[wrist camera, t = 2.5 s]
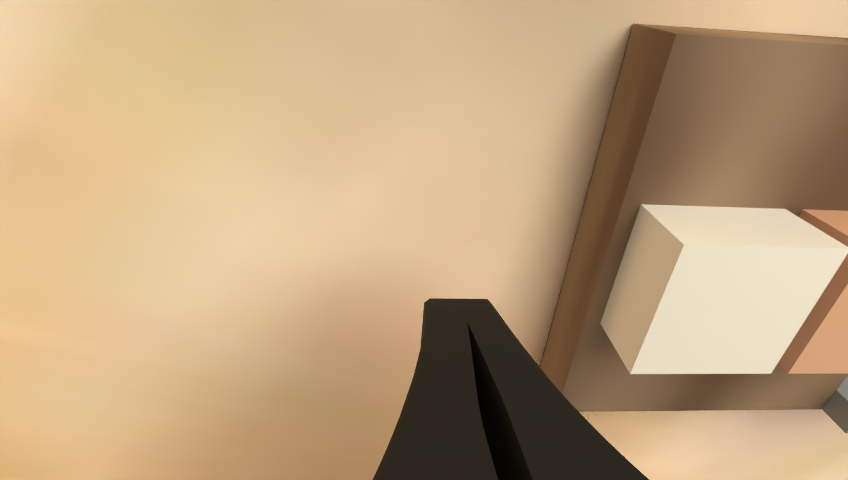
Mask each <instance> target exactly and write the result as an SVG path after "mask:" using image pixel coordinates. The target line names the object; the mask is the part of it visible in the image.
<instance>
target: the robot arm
mask: <svg viewBox="0 0 848 480" xmlns="http://www.w3.org/2000/svg"><path fill="white" fill-rule="evenodd" d="M373 480H649V479H648V478H647V477H646V476H644V475H643V474H642V473H641V472H640V471H639V470H638V469H637V468H635V467H634V466H633V465H632V464H631V463H630V462H629V461H628V460H627V459H626V458H625V457H624V456H622V455H621V454H620V453H619V452H618V451H617V450H616V449H615V448H614V447H613V446H612V445H611V444H610V443H609V442H608V441H607V440H606V439H605V438H604V437H603V436H602V435H601V434H600V433H599V432H598V431H597V430H596V429H595V428H594V427H593V426H592V425H591V424H590V423H589V422H588V421H587V420H586V419H585V418H584V417H583V416H582V415H581V414H580V413H579V411H578V410H577V409H576V408H575V407H574V406H573V405H572V404H571V403H570V402H569V401H568V399H567V398H566V397H565V396H564V395H563V394H562V393H561V392H560V391H559V389H558V388H557V387H556V386H555V385H554V384H553V383H552V381H551V380H550V379H549V378H548V377H547V375H546V374H545V373H544V372H543V371H542V369H541V368H540V367H539V366H538V364H537V363H536V362H535V361H534V360H533V358H532V357H531V356H530V355H529V353H528V352H527V351H526V350H525V348H524V347H523V346H522V344H521V343H520V342H519V341H518V339H517V338H516V337H515V335H514V334H513V333H512V331H511V330H510V329H509V327H508V326H507V324H506V323H505V322H504V320H503V319H502V318H501V316H500V315H499V313H498V312H497V311H496V309H495V308H494V306H493V305H492V304H491V303H490V301H489V300H488V299H429V300H427V301H426V302H425V303H424V313H423V325H422V337H421V349H420V353H419V357H418V361H417V365H416V369H415V373H414V376H413V380H412V383H411V386H410V389H409V391H408V394H407V397H406V400H405V403H404V406H403V409H402V412H401V415H400V417H399V420H398V423H397V425H396V428H395V430H394V433H393V435H392V438H391V440H390V442H389V445H388V447H387V449H386V452H385V454H384V456H383V459H382V461H381V463H380V465H379V468H378V470H377V472H376V474H375V476H374V478H373Z"/></svg>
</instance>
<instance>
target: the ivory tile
mask: <svg viewBox="0 0 848 480" xmlns="http://www.w3.org/2000/svg"><path fill="white" fill-rule="evenodd" d="M847 254H848V247H847V246H845V245H844V244H842V243H841V242H839V241H837V240H836V239H834V238H832V237H831V236H829V235H827V234H826V233H824V232H822V231H821V230H819V229H817V228H816V227H814V226H813V225H811V224H809V223H808V222H806V221H804V220H803V219H801V218H799V217H798V216H796V215H794V214H793V213H791V212H790V211H788V210H786V209H774V208H742V207H710V206H678V205H645V204H641V206H640V209H639V212H638V214H637V217H636V220H635V223H634V226H633V229H632V232H631V235H630V238H629V241H628V244H627V247H626V250H625V253H624V255H623V258H622V261H621V264H620V267H619V270H618V273H617V276H616V279H615V282H614V285H613V288H612V291H611V294H610V296H609V299H608V302H607V305H606V308H605V311H604V314H603V317H602V320H601V323H600V324H601V325H602V327H603V329H604V331H605V332H606V334H607V336H608V337H609V339H610V341H611V342H612V344H613V346H614V347H615V349H616V351H617V352H618V354H619V356H620V358H621V359H622V361H623V363H624V364H625V366H626V368H627V369H628V371H629V373H630V374H771V373H772V371H773V370H774V368H775V367H776V365H777V364H778V362H779V360H780V359H781V357H782V356H783V354H784V353H785V351H786V349H787V348H788V346H789V345H790V343H791V342H792V340H793V338H794V337H795V335H796V334H797V332H798V331H799V329H800V328H801V326H802V324H803V323H804V321H805V320H806V318H807V317H808V315H809V313H810V312H811V310H812V309H813V307H814V306H815V304H816V302H817V301H818V299H819V298H820V296H821V295H822V293H823V291H824V290H825V288H826V287H827V285H828V284H829V282H830V281H831V279H832V277H833V276H834V274H835V273H836V271H837V270H838V268H839V266H840V265H841V263H842V262H843V260H844V259H845V257H846V255H847Z"/></svg>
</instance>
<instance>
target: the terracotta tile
mask: <svg viewBox="0 0 848 480" xmlns="http://www.w3.org/2000/svg"><path fill="white" fill-rule="evenodd" d="M799 218H801V219H803V220H804V221H806V222H808V223H809V224H811V225H813V226H814V227H816V228H817V229H819V230H821V231H822V232H824V233H826V234H827V235H829V236H831V237H832V238H834V239H836V240H837V241H839V242H841V243H842V244H844V245H845V246H847V247H848V211H838V210H806V209H803V210H802V211H801V213H800V215H799ZM778 364H779V365H780V366H781V367H782V368H783V369H784V370H785V371H786V372H787V373H788V374H835V373H848V254H847V255H846V257H845V259H844V260H843V262H842V263H841V265H840V266H839V268H838V270H837V271H836V273H835V274H834V276H833V277H832V279H831V281H830V282H829V284H828V285H827V287H826V288H825V290H824V291H823V293H822V295H821V296H820V298H819V299H818V301H817V302H816V304H815V306H814V307H813V309H812V310H811V312H810V313H809V315H808V317H807V318H806V320H805V321H804V323H803V324H802V326H801V328H800V329H799V331H798V332H797V334H796V335H795V337H794V338H793V340H792V342H791V343H790V345H789V346H788V348H787V349H786V351H785V353H784V354H783V356H782V357H781V359H780V360H779V362H778Z"/></svg>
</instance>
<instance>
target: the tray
mask: <svg viewBox="0 0 848 480" xmlns="http://www.w3.org/2000/svg"><path fill="white" fill-rule="evenodd" d="M823 411H824V412H825V413H826V414H827V415H828V416H829V417H830V418H831V419H832V420H833V421H834V422H835V423H836V424H837V425H838V426H839V427H840V428H841V429H842V430H843V431H844V432H845V433H848V376H847V377H846V378H845V380H844V381H843V382H842V384H841V385H840V386H839V388H838V389H837V390H836V392H835V393H834V394H833V396H832V397H831V398H830V399H829V401H828V402H827V403H826V405H825V406H824V407H823Z"/></svg>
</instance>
